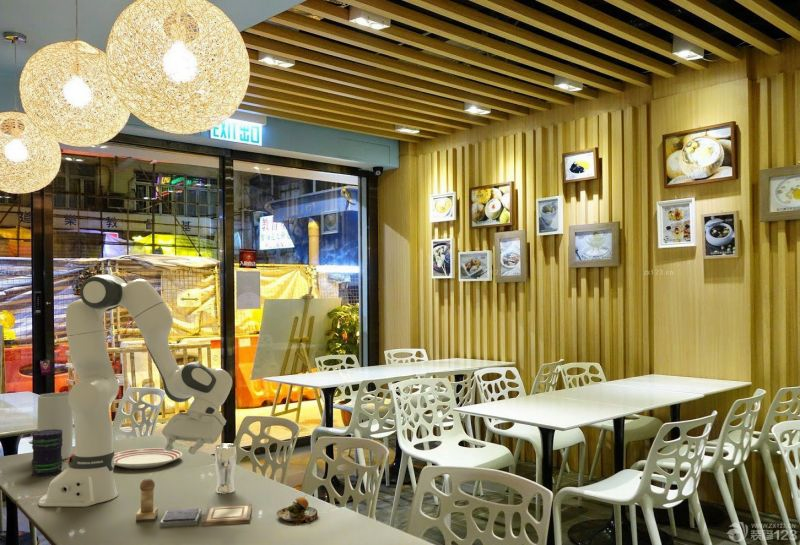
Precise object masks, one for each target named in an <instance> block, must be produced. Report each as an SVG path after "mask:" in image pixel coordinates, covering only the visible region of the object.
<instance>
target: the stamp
mask: <svg viewBox="0 0 800 545" xmlns="http://www.w3.org/2000/svg"><path fill="white" fill-rule="evenodd" d="M155 488H156V487H155V481H154V480H153V479H152V478H145V479H143V480H142V481H141V482H140V484H139V489H140V508H139V509H138V511H137V512H136V513H135V523H137V524H138V523H152V522H156V519H157V518H158V516H159V515H158V514H159V513H158V512H159V508H158V507H154V491H155V490H154V489H155Z"/></svg>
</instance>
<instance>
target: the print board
mask: <svg viewBox="0 0 800 545" xmlns="http://www.w3.org/2000/svg"><path fill="white" fill-rule="evenodd" d="M252 507H253V506H252V505H251V504H250V505H247V504H246V505H231V506H228V505H227V506H213V507H212V506H211V507H210V506H209V507H207V508H206V512H205V513H204V516H203V519H202V522H201V524H202V527H203V526H219V525H235V524H239V525H241V524H250V523H251V515H252V509H253V508H252Z"/></svg>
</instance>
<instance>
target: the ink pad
mask: <svg viewBox="0 0 800 545" xmlns="http://www.w3.org/2000/svg"><path fill="white" fill-rule="evenodd" d="M201 516H202V508H186V509H185V508H184V509H183V508H182V509H168V510H165V513H164V515H163V516H162V518H161V519H160V522H159V528H175V527H188V526H189V527H193V526H198V523H199V521H200V518H201Z"/></svg>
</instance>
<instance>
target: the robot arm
mask: <svg viewBox="0 0 800 545" xmlns="http://www.w3.org/2000/svg"><path fill="white" fill-rule="evenodd" d="M79 296H80V298H79V299H76V300H73V301H72V302H70V303H69V304H68V305H67V307H66V310H65V311H66V312H65V330H66V331H65V332H66V338H67V345H68V352H69V358H70V361H71V364H73V366H74V369H75V371H76V374H77V377H78V379H79V380H78V381H77V382H76V383H75V384H74V385H73V386H72V387H71V389H70V390H69V392H68V393H69V395H68V402H69V405H70V406H71V408H72V414H73V423H74V424H73V425H74V432H75V433H74V434H75V435H74V439H75V441H74V444H75V445H74V448H75V449H74V452H72V454H71V456H70V457H69V458H67V459H66V460H67V461H66V462H67V465H68V466H67V467H66V468H65V469H63V470H62V472H61V473H60V474H58V475H55V477H54V478H52V480H51V481H50V482H49V485H48V487H47V493H46V494H44V495H43V496H42V497H40V499H39V500H38V505H39V507H77V508H78V507H90V506H92V505H95V504H99V503H103V502H107V501H110V500H113V499H115V498H116V497H117V496H118V495H119V493H118V491H117V487H116V482H115V474H114V473H115V472H114V469H115V465H114V463H115V456H114V453H115V451H114V427H113V424H112V421H111V420H112V419H111V415H110V404H111V403H113V402H114V401H115V399H116V398H117V397H118V394H119V391H120V384H119V381H118V380H117V377H116V375H115V371H114V367H113V364H112V362H111V359H110V355H109V350H108V344H107V338H106V332H105V326H104V325H105V324H104V314H105V313H106V312H110V311H112V310H114V309H116V308H119V307H123V308H125V309H126V311H127V312H128V313H129V315H130V317H131V318H132V320H133V321H134V323H135V325H136V326H137V328H138V331H139V333H140V334H141V336H142V338H143V341H144V344H145V347H146V349H147V350H148V354H149V355H150V357H151V359H152V361H153V363H154V364H155V367H156V368H157V371H158V373H159V375H160V377H161V380H162V387H163V392H164V393H165V395H166V397H167V398H169V400H171V401H173V402H175V403H184V402H187V401H189V400H190V399H191V398H192V397H193V398H194V399H193V401H192V402H191V404H190V406H189V407H188V409H187V410H186V412H182V411H181V412H178V413H177V414H174V415H173V416H172V417H171V418H169V420H168V421H167V423H165V426H163V428H162V430H161V434H162V436H163V437H164V438H166V439H167V441H166V445H165V447H164V449H165V450H166V451H172V450H174V446H173V443H175V442H176V441H183V442H190V443H191V442H192V443H194V444H193V445H192V446H191V445H190V446H189V449H188V453H189V454H190V455H195V454H196V453H197V451H198V450H199V449H201V448H202V447H203V446H204V445H205V444H209V445H213V444H215V443H216V442H218V440H219V438H220V436H221V435H222V432H223V429H224V426H226V423H227V420H226V418H225V417H224V416H223V414H222V413H221V412H220V408H221V406H222V405H223V404H224V403H225V402H226V400H227V398H228V396H229V394H230V391H231V389H232V387H233V378H232V376H231V375H230V374H229V372H228V371H227V370H225V369H223V368H219V367H218V368H213V367H208V366H205V365H203V364H202V363H200V362H196V361H193V362H189V363H187V364H185V365H184V366H182V367H180V366H179V364H178V362H177V361H176V358H175V356H174V355H173V353H172V351H171V349H170V347H169V337H170V333H171V330H172V327H173V322H174V320H173V316H172V313H171V311H170V309H169V307H168V305H167V304H166V301H165V300H164V299H163V297H162V296H161V295H160V294H159V292H158V290H156V288H154V286H153V284H151V282H149V281H148V280H147V279H144V278H143V279H142V278H137V279H134V280H131V281H130V282H128V281H127V279H125V278H123V277H122V276H119V275H116V274H107V273H105V274H97V275H92V276H90V277H88V278H86V279H85V280H84V281H83V282H82V283H81V286H80V289H79Z"/></svg>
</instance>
